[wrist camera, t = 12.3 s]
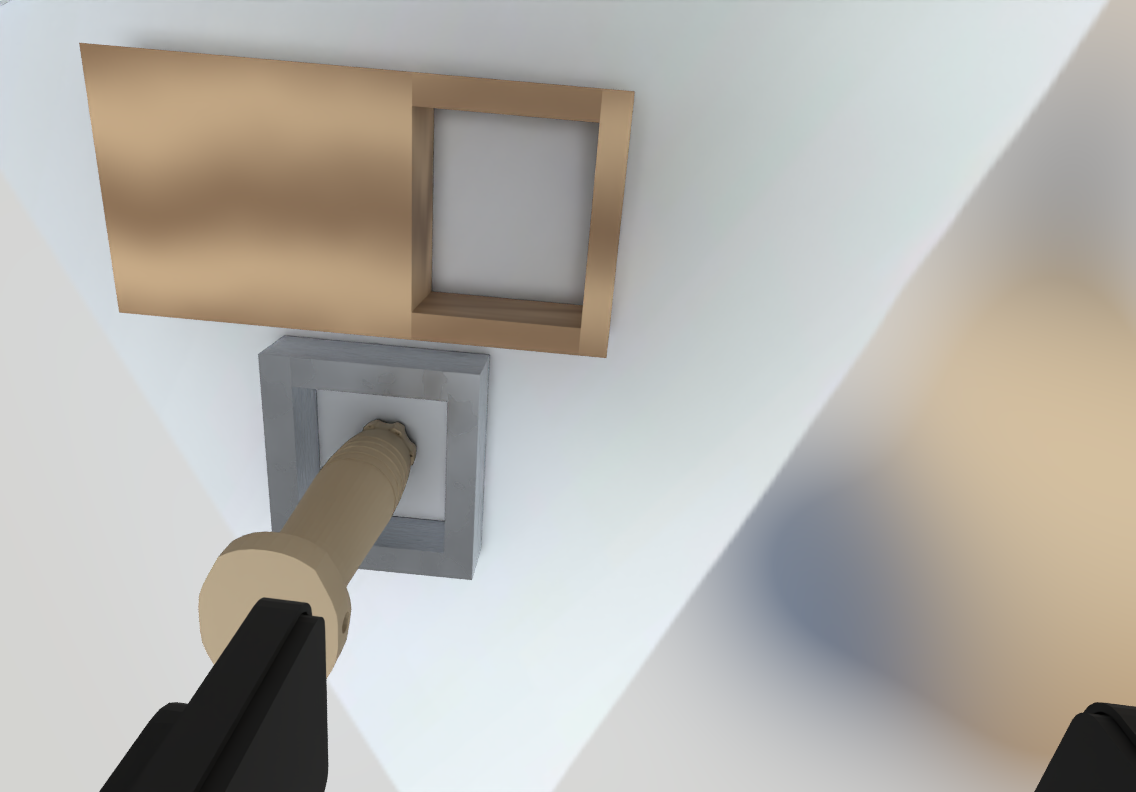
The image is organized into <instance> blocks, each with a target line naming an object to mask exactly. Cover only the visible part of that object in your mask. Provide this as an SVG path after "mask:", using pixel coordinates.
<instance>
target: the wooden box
mask: <svg viewBox="0 0 1136 792" xmlns="http://www.w3.org/2000/svg"><path fill="white" fill-rule="evenodd" d="M79 44H80V51H81V58H82V64H83V71H84V78H85V85H86V91H87V98H88V105H89V112H90V118H91V125H92V132H93V139H94V145H95V152H96V159H97V166H98V172H99V179H100V186H101V193H102V199H103V206H104V213H105V220H106V226H107V233H108V240H109V247H110V253H111V260H112V267H113V274H114V280H115V287H116V294H117V301H118V307H119V312H120V313H131V314H142V315H153V316H163V317H174V318H185V319H195V320H206V321H217V322H227V323H238V324H249V325H259V326H270V327H281V328H291V329H302V330H313V331H323V332H334V333H345V334H356V335H366V336H377V337H388V338H398V339H409V340H420V341H430V342H441V343H452V344H462V345H473V346H484V347H494V348H505V349H516V350H526V351H537V352H548V353H559V354H569V355H580V356H591V357H601V358H606V356H607V347H608V338H609V328H610V319H611V309H612V300H613V291H614V281H615V272H616V262H617V253H618V244H619V234H620V225H621V216H622V206H623V197H624V187H625V178H626V169H627V159H628V150H629V140H630V131H631V122H632V112H633V103H634V93H635V91H623V90H612V89H600V88H589V87H577V86H566V85H555V84H543V83H532V82H520V81H509V80H498V79H486V78H475V77H463V76H452V75H440V74H429V73H418V72H406V71H395V70H383V69H372V68H361V67H349V66H338V65H326V64H315V63H303V62H292V61H281V60H269V59H258V58H246V57H235V56H224V55H212V54H201V53H189V52H178V51H166V50H155V49H144V48H132V47H121V46H109V45H98V44H87V43H79ZM434 108H438V109H450V110H461V111H472V112H484V113H495V114H506V115H518V116H529V117H540V118H552V119H563V120H574V121H585V122H597V123H600V124H599V135H598V146H597V157H596V168H595V179H594V190H593V201H592V212H591V223H590V234H589V245H588V256H587V267H586V277H585V288H584V299H583V305H573V304H563V303H552V302H541V301H530V300H519V299H509V298H498V297H487V296H476V295H465V294H455V293H444V292H433V291H432V220H433V145H434Z"/></svg>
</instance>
